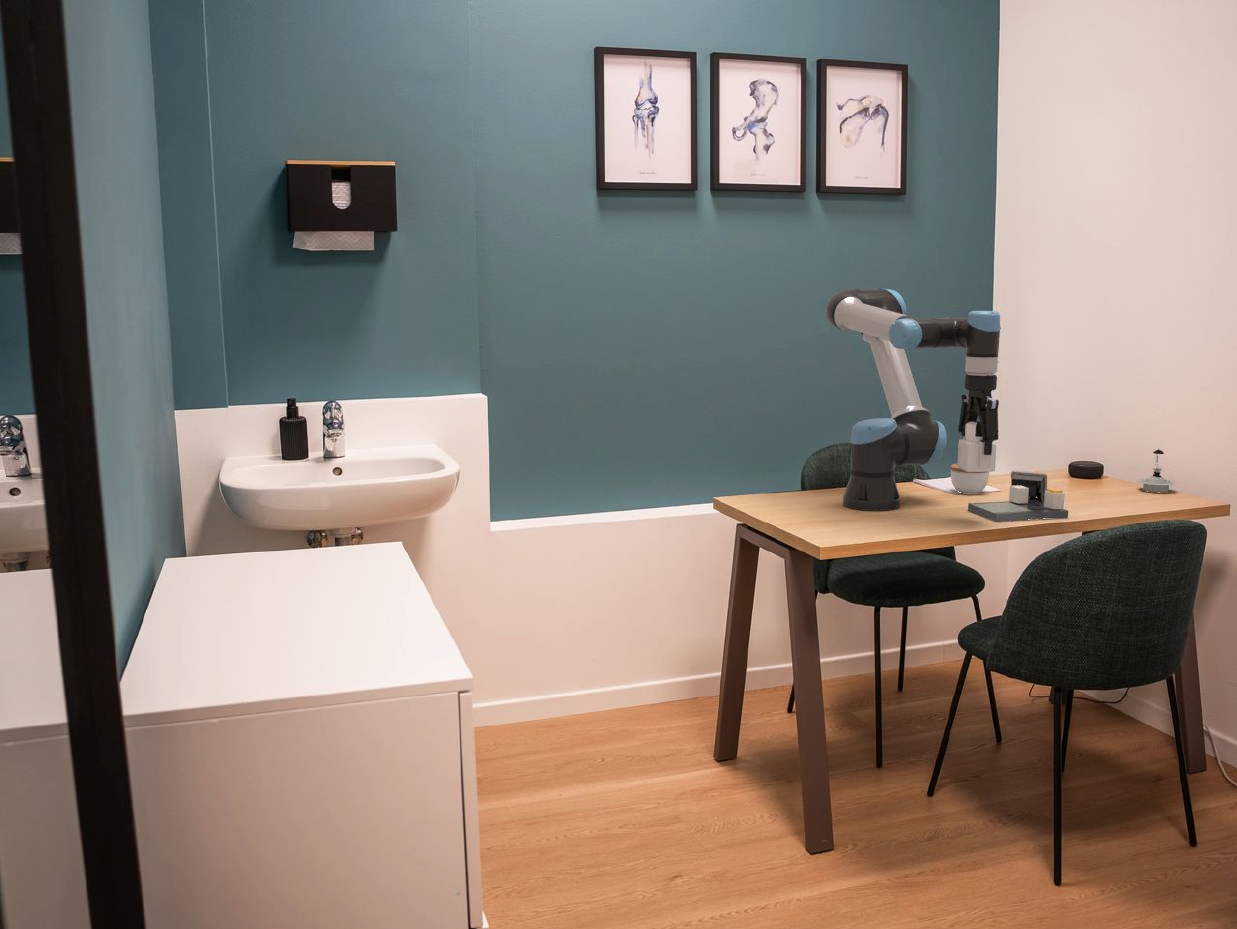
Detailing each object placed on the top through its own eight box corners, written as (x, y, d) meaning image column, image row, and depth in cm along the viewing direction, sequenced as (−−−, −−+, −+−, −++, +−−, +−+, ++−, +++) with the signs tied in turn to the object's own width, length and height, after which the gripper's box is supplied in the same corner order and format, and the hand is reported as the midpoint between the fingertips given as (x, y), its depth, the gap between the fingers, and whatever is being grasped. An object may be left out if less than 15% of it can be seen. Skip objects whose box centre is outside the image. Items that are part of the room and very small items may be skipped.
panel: (996, 521, 262) (996, 514, 261) (967, 510, 275) (968, 503, 275) (1067, 518, 265) (1068, 510, 265) (1036, 507, 279) (1036, 499, 278)
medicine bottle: (984, 466, 264) (987, 420, 262) (995, 471, 257) (998, 423, 255) (956, 467, 264) (959, 420, 262) (967, 472, 257) (969, 424, 255)
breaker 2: (1052, 509, 265) (1054, 491, 264) (1043, 506, 269) (1044, 488, 268) (1063, 508, 266) (1064, 491, 265) (1054, 505, 270) (1055, 488, 269)
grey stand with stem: (1185, 451, 293) (1167, 446, 303) (1150, 451, 293) (1132, 446, 303) (1182, 494, 295) (1163, 487, 305) (1146, 494, 295) (1129, 488, 305)
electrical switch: (1047, 504, 283) (1048, 471, 280) (1043, 509, 278) (1044, 476, 276) (1011, 501, 288) (1012, 468, 285) (1007, 506, 283) (1008, 473, 281)
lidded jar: (983, 489, 305) (985, 457, 303) (992, 496, 294) (994, 463, 293) (946, 488, 306) (947, 457, 304) (953, 495, 295) (955, 463, 294)
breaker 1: (1017, 503, 273) (1018, 488, 272) (1009, 500, 276) (1009, 485, 276) (1027, 503, 273) (1028, 488, 272) (1019, 500, 277) (1020, 485, 276)
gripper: (1018, 377, 247) (1012, 471, 251) (973, 370, 267) (969, 457, 271) (989, 377, 246) (983, 472, 250) (946, 370, 266) (942, 458, 270)
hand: (976, 464), depth 261 cm, fingers closed on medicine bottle, 8 cm apart
